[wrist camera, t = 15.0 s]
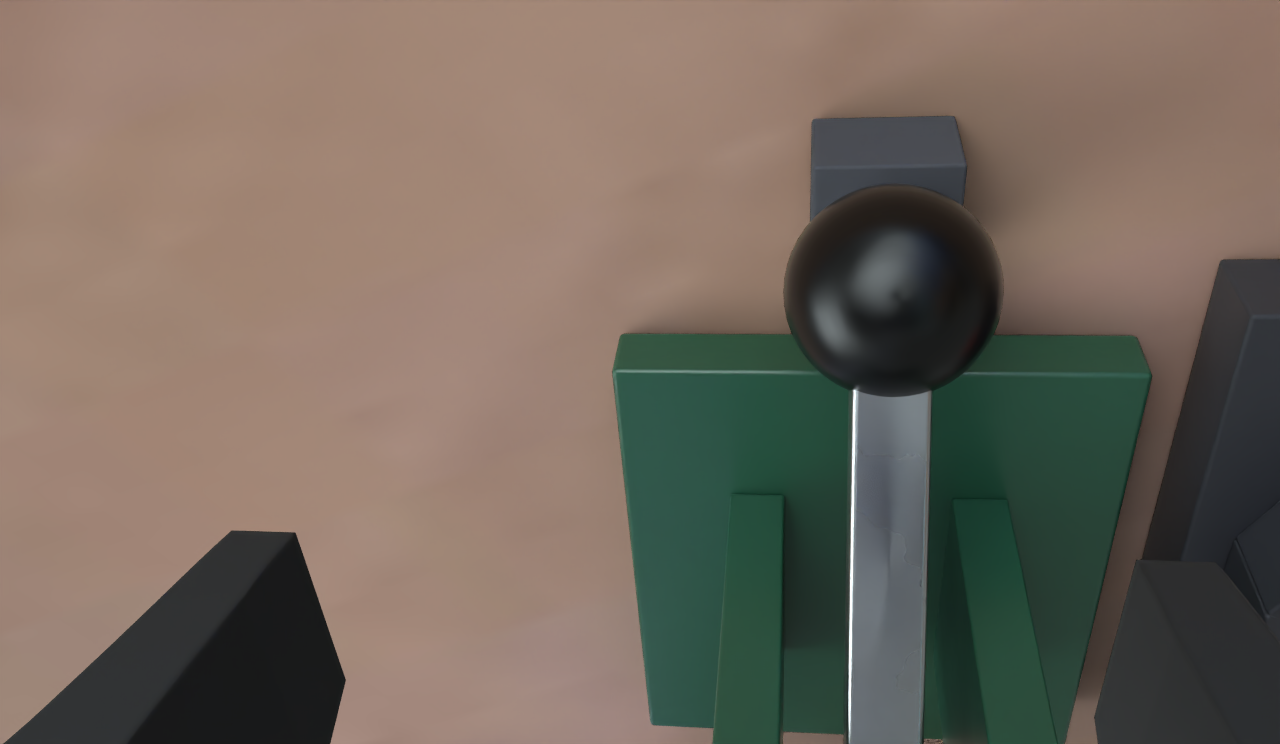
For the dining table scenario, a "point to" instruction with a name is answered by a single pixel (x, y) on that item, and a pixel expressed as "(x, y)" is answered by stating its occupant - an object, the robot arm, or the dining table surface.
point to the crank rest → (885, 156)
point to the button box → (1230, 442)
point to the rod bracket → (817, 530)
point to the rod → (890, 411)
